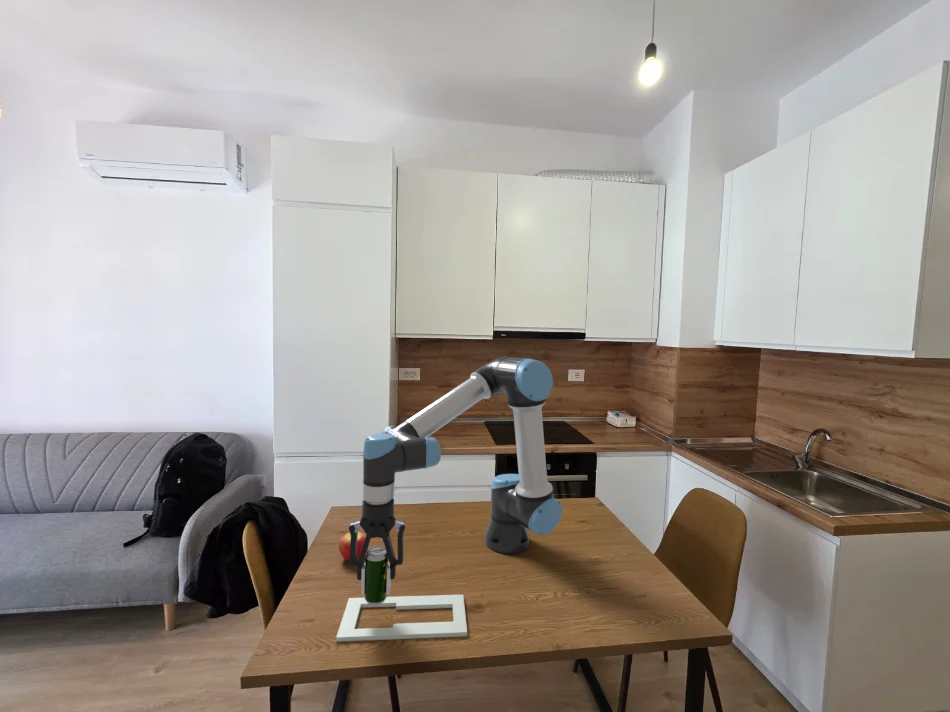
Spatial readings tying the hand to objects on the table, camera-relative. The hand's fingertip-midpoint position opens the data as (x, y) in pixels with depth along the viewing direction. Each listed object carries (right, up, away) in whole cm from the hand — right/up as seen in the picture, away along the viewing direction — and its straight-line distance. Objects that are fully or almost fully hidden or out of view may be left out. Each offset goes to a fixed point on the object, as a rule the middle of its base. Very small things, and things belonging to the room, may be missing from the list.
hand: (376, 591), depth 101 cm
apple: (-14, -6, +27) cm, 31 cm away
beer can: (0, -2, 0) cm, 2 cm away
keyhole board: (+7, -7, +1) cm, 10 cm away
